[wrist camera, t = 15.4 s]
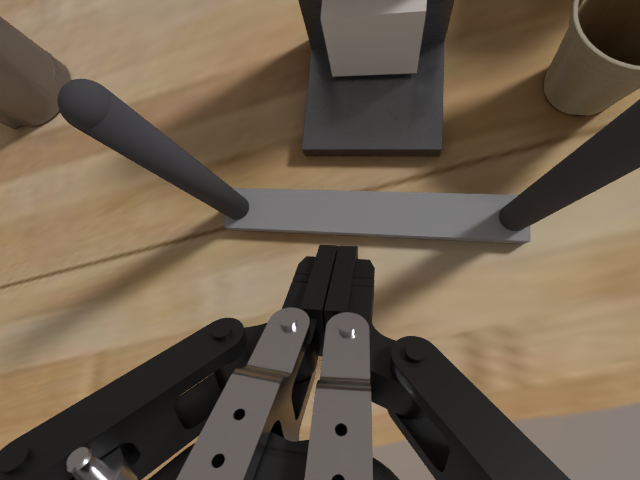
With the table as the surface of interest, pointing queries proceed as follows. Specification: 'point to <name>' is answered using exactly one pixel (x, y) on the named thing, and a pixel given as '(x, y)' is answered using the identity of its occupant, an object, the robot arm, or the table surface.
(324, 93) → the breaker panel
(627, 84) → the flower pot
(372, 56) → the block
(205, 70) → the table surface
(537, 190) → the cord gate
